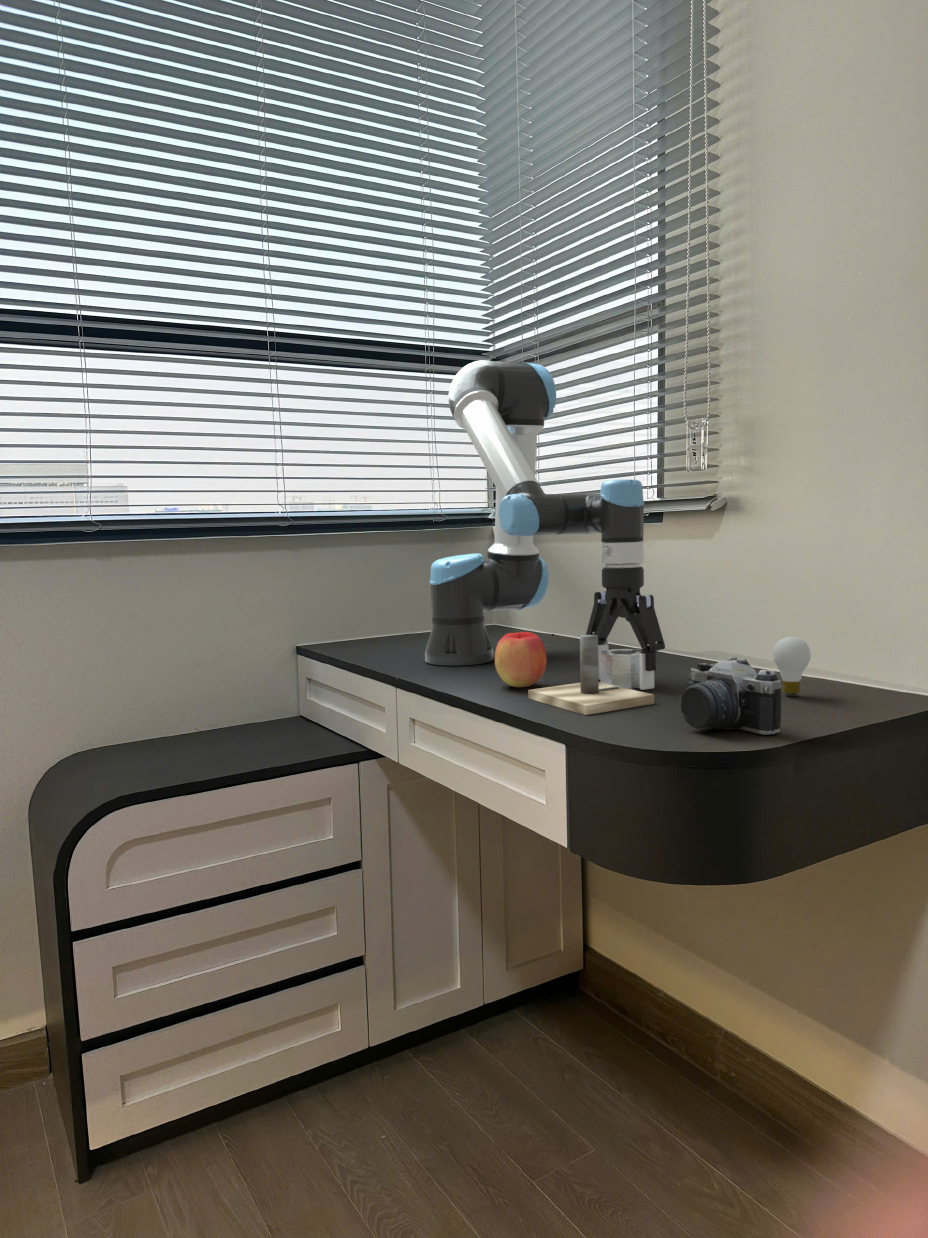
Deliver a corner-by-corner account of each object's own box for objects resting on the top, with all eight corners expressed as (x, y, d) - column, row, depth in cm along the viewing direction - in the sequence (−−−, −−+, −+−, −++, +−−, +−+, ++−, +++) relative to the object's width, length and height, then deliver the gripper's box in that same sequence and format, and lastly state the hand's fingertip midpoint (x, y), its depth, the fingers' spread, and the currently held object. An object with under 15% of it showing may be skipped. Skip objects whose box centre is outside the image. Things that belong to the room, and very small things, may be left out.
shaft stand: (528, 698, 148) (527, 635, 147) (593, 689, 155) (592, 628, 154) (585, 715, 134) (584, 645, 133) (654, 703, 141) (653, 637, 140)
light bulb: (764, 695, 145) (765, 636, 144) (791, 691, 148) (792, 633, 147) (790, 701, 140) (791, 640, 139) (818, 697, 142) (819, 637, 141)
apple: (492, 683, 163) (490, 630, 162) (541, 681, 164) (540, 629, 163) (498, 692, 154) (497, 637, 153) (551, 690, 155) (550, 635, 154)
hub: (592, 683, 160) (592, 650, 159) (626, 679, 164) (625, 646, 163) (620, 690, 153) (620, 655, 152) (655, 685, 157) (654, 651, 156)
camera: (654, 723, 128) (654, 657, 127) (704, 714, 133) (704, 650, 132) (736, 745, 114) (736, 671, 113) (789, 734, 119) (789, 663, 118)
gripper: (566, 565, 165) (567, 676, 167) (652, 568, 144) (653, 696, 146) (597, 563, 168) (598, 672, 170) (685, 566, 147) (686, 691, 150)
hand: (623, 683), depth 158 cm, fingers open, 12 cm apart
